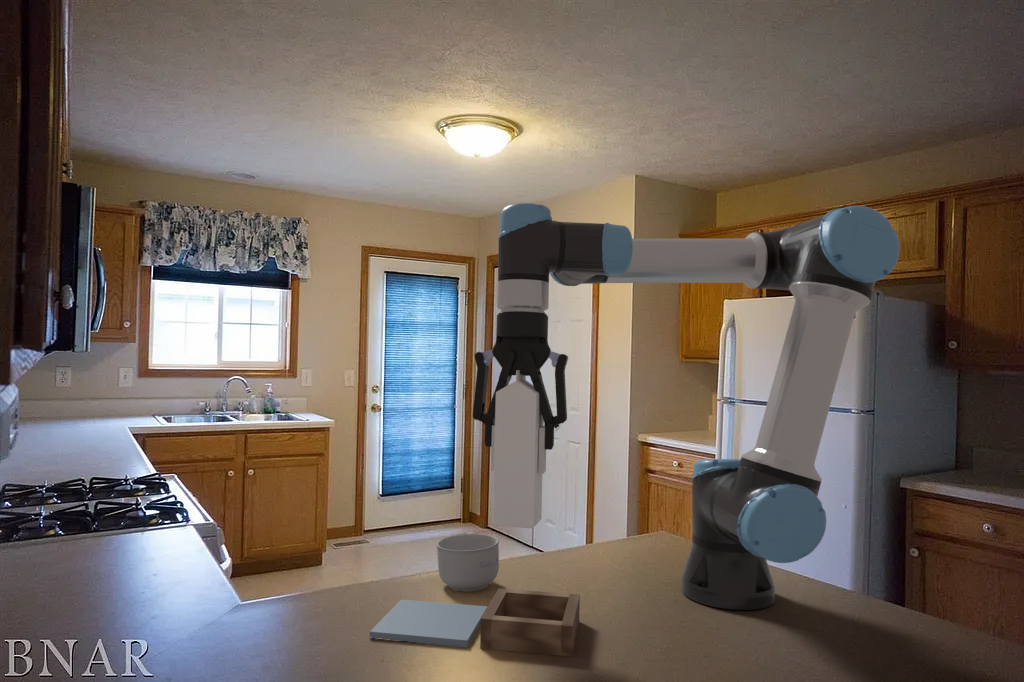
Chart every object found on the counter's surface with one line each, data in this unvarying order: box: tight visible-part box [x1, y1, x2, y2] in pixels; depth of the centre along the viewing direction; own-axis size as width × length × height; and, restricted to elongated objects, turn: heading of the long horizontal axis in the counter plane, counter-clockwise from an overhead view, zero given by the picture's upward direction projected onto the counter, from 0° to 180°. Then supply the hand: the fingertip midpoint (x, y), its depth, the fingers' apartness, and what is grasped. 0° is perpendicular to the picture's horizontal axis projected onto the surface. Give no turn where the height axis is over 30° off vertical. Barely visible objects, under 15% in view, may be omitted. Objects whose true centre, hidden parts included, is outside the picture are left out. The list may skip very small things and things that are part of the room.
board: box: [369, 599, 488, 649], centre depth 100 cm, size 14×13×1 cm
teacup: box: [435, 531, 500, 593], centre depth 119 cm, size 14×11×8 cm
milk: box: [491, 370, 545, 530], centre depth 98 cm, size 6×6×22 cm
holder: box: [479, 588, 581, 658], centre depth 97 cm, size 12×12×4 cm
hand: (518, 470), depth 98 cm, fingers closed on milk, 6 cm apart
